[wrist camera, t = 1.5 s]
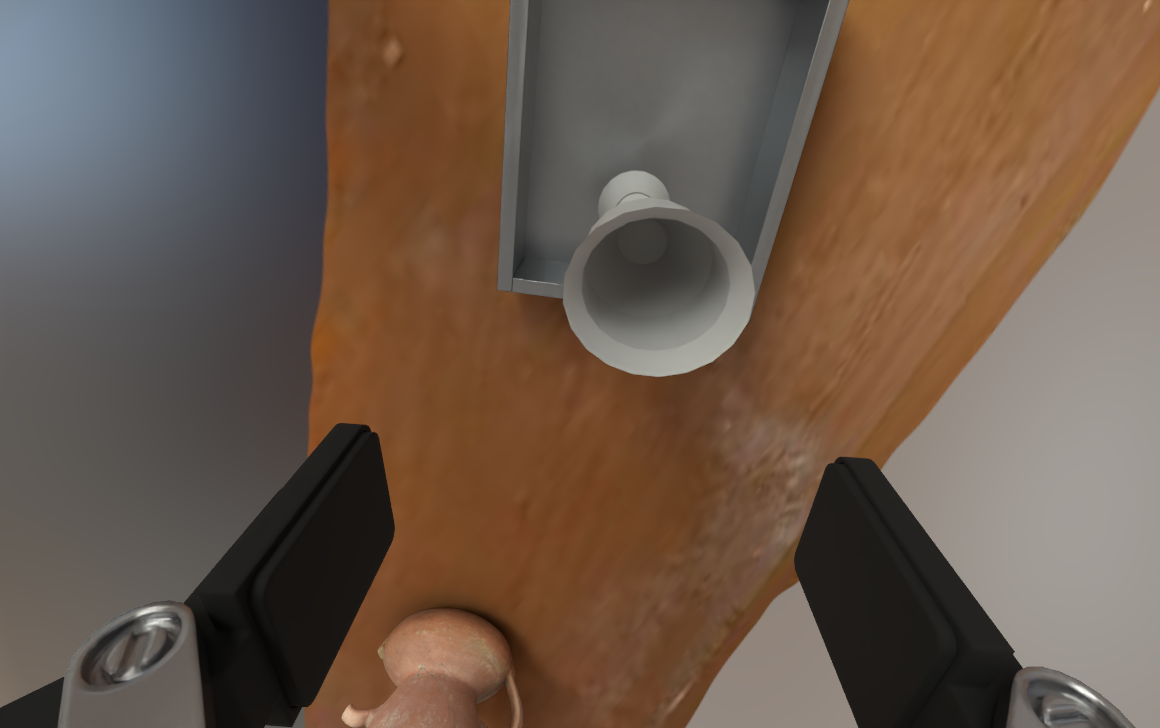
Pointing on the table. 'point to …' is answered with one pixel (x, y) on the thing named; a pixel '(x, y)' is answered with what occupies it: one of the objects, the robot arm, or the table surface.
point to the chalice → (656, 282)
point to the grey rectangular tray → (654, 117)
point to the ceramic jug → (442, 673)
